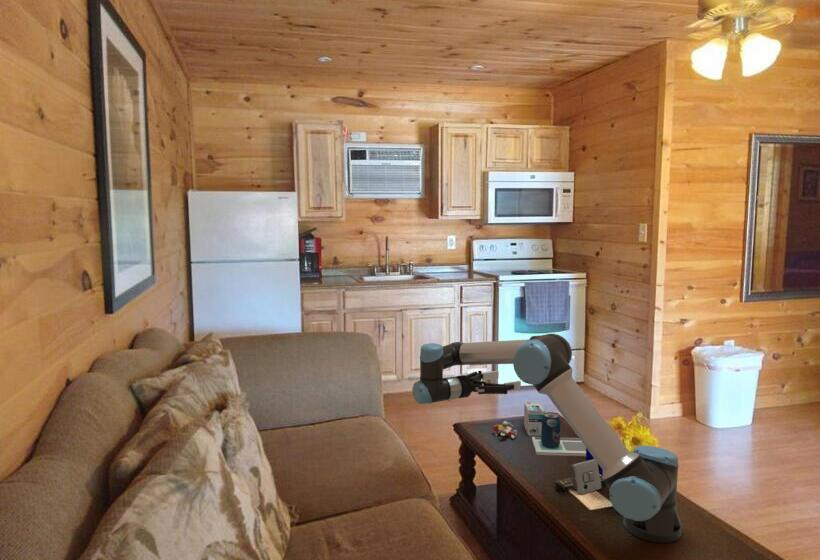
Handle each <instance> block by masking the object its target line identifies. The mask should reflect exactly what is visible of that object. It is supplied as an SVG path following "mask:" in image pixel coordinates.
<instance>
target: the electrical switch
mask: <svg viewBox="0 0 820 560" xmlns="http://www.w3.org/2000/svg"><path fill="white" fill-rule="evenodd" d="M569 470H570V475H571V476H570V477H571V482H572V487H573V488H574V489H575V490H574V489H573V490H574V491H577V494H578V495H583V494H587V493H591V492H594V491H598V490H601V489H602V482H601V476H600V475H599V469H598V463H597V461H596V460H595V459H593V460H589V461H586V460H585V461H582V462H578V463H574V464H573V463H572V464H569Z"/></svg>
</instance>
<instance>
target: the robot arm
mask: <svg viewBox="0 0 820 560" xmlns="http://www.w3.org/2000/svg"><path fill="white" fill-rule="evenodd" d="M420 346H421V347H420V350H419V351H420V355H419V362H420V363H419V371H420V373H419V376H420V377H419V380H418V381H415V382H414V383H413V384H412V392H411V393H412V396H413V399H414V401H415V403H417V404H419V405H423V404H430V405H431V404H433V403H438V402H439V403H440V402H444V401H448V402H450V401H451V400H456V399H457V400H458V399H464V398H469V397H470V396H471V394H472V392H473V393H477V394H478V395H507V394H508V392H509V391H514V390H521V385H522V383H521V382H523V383H525V384H528V385H530V386H531V385H532V386H533V387H534V388H535V389H536V391H537V392H538V394H542V395H545V396H547V397H548V398H549V400H550V401H551V403H553V405H554V406H555V408H556V409H557V411H558V412H559V413H560V414H561V415H562V417H563V418H564V420H565V421H566V423H567V424H568V425H569V426H570V428H571V429H572V431H574V433H575V435H577V437H578V438H580V440H581V441H582V442H583V444H584V445H585V446H586V448H587V449H588V451H589V452H590V453H591V455H592V456H593V457H594V459H595V460H596V461H597V463H598V464H599V465H600V467H601V468H602V470H603V475H602V476H601V477H602V478H601V479H602V480H603V482H604V483H605V485H606V486H607V487H608V488H609V490H608V491H609V493H608V494H609V501H610V503H611V506H612V507H613V508H614V510H615V511H616V512H618V513H619V514H620V515H621V516H622V517H623V521H622V523H623V526H624V528H625V529H626V530H627V531H628V532H629V533H631V535H634V536H635V537H636V538H638V539H641V540H644V541H648V542H653V543H660V544H662V543H664V544H666V543H672V542H676V541H677V540H679V539H681V537H682V523H681V519H680V515H679V512H678V509H677V494H678V493H677V490H678V489H677V488H678V476H679V474H678V473H679V467H680V466H679V458H678V456H677V455H676V454H675V453H674V452H673V451H671V450H668V449H665V448H662V447H657V446H653V445H639V446H636V447H634V448H633V451H632V452H631V451H630V450H629V449H628V448H627V446H626V447H625V445H624V444H623V443H622V442H623V441H622V440H621V439H620V438H619V436H618V435H617V434H616V432H615V431H614V430H613V428H612V427H611V426H610V424H608V421H606V419H605V418H604V417H603V415H602V414H601V413H600V412H599V410H598V408H596V406H595V405H594V404H593V403H592V401H591V400H590V399H589V397H588V396H587V395H586V393H585V392H584V391H583V390H582V388H581V387H580V386H579V384H578V383H577V382H576V381H575V379H574V377H573V371H574V370H573V368H572V367H571V365H570V363H571V361H572V356H573V352H572V351H573V349H572V346H571V344H570V342H569V341H568V340H567V339H566V338H565V337H564V336H562V335H559V334H556V333H546V334H543V335H542V334H541V335H531V336H530V337H529V338H528V339H515V340H497V341H478V342H477V341H475V342H463V341H456V342H455V341H454V342H451V343H449V344H446V345H444V346H443V345H442V344H441V343H435V342H434V343H431V342H430V343H425V344H422V345H420ZM470 365H471V366H476V365H479V366H480V365H513V370H514V372H515V374H516V376H517V377H518V379H519V380H515V381H509V382H503V383H493V382H486V381H491V380H497V379H499V372H500V371H498V370H494V371H487V372H483V371H482V370H478V371H474V372H471V373H468V374H466V375H464V374H461V375H455V376H447V377H443V376H444V370H447V369H450V368H451V367H454V366H470Z"/></svg>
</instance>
